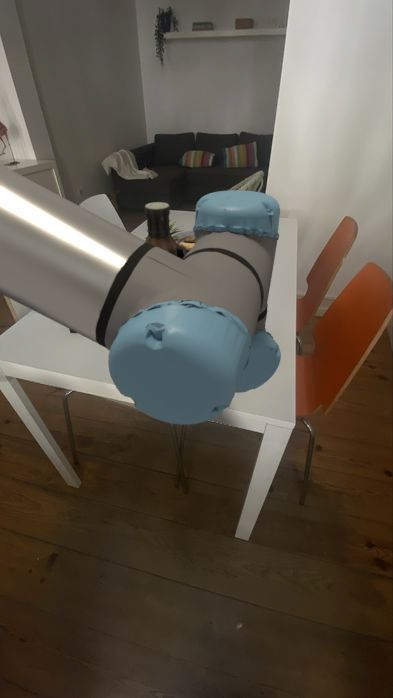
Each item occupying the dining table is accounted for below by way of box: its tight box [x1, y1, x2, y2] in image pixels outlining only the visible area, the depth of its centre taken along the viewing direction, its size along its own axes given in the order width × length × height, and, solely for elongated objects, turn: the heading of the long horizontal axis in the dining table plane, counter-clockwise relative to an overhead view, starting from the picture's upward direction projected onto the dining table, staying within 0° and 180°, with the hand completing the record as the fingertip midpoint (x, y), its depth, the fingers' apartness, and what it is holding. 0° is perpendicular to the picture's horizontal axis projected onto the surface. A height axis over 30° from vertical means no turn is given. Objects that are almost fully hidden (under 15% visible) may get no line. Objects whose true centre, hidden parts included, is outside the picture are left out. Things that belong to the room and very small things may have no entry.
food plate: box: [171, 230, 195, 250], centre depth 126 cm, size 25×23×4 cm
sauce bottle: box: [144, 201, 177, 256], centre depth 58 cm, size 6×6×20 cm
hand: (152, 247), depth 61 cm, fingers closed on sauce bottle, 6 cm apart
